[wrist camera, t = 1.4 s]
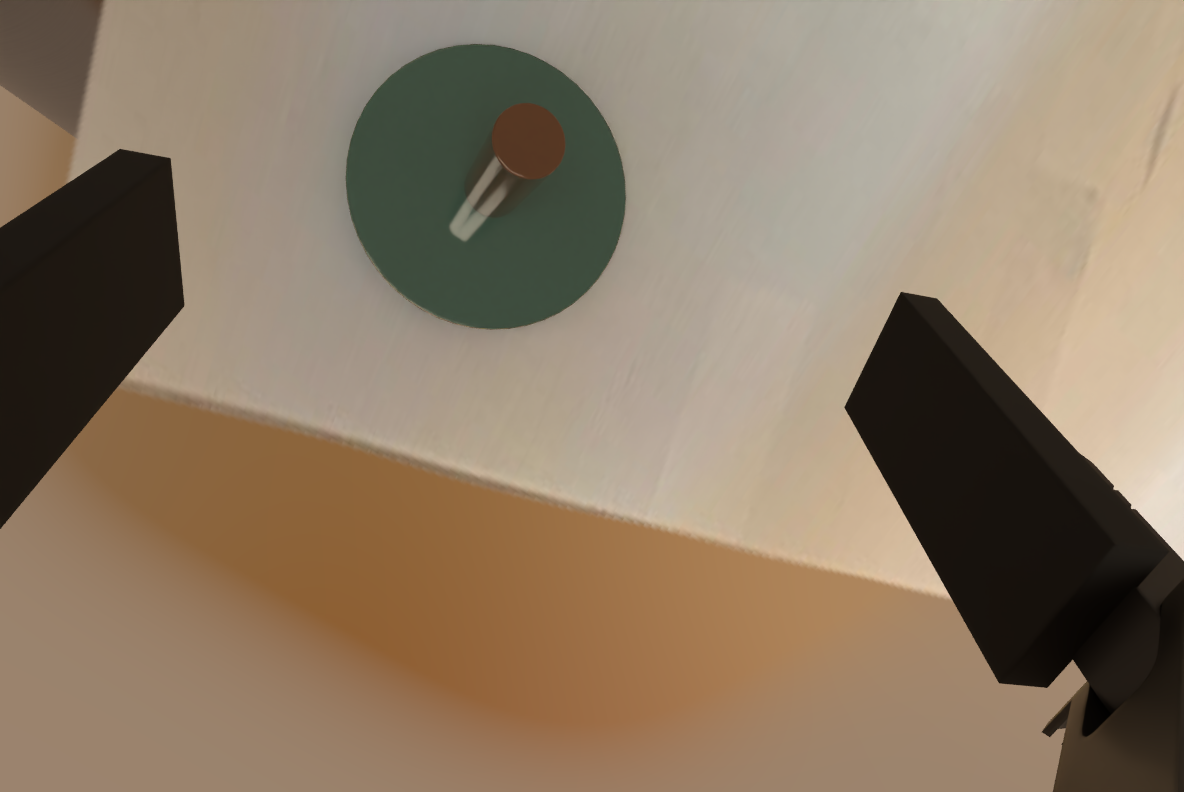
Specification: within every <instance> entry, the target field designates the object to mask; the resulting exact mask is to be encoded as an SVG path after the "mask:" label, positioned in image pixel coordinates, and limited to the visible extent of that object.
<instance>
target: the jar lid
mask: <svg viewBox="0 0 1184 792" xmlns="http://www.w3.org/2000/svg"><path fill="white" fill-rule="evenodd" d="M346 188H347V200H348V204H349V209H350V214H351V219H352V222H353V225H354V227H355V230H356V233H357V236H358V238H359V240H360V242H361V244H362V246H363V248H364V250H365V252H366V254H367V256H368V257H369V259H370V260H371V262H372V263H373V265H374V266H375V268H376V269H377V271H378V272H379V273H380V274H381V275H382V277H383V278H384V279H385V280H386V281H387V282H388V283H389V285H390V286H391V287H393V288H394V289H395V290H396V291H397V292H398V293H399V294H400V295H402V296H403V297H404V298H405V299H406V300H408V301H409V302H411V303H412V304H414V305H415V306H417V307H418V308H420V309H421V310H423V311H425V312H427V313H429V314H431V315H433V316H435V317H437V318H439V319H442V320H445V321H448V322H451V323H453V324H457V325H461V326H466V327H471V328H479V329H490V330H492V329H510V328H516V327H521V326H527V325H530V324H533V323H536V322H539V321H542V320H545V319H547V318H549V317H551V316H553V315H555V314H558V313H560V312H561V311H563V310H564V309H566V308H567V307H569V306H570V305H572V304H573V303H575V302H576V301H577V300H578V299H579V298H580V297H581V296H583V295H584V294H585V293H586V292H587V291H588V290H589V289H590V288H591V287H592V285H593V284H594V283H595V282H596V281H597V280H598V278H599V277H600V275H601V274H602V272H603V271H604V269H605V268H606V266H607V265H608V263H609V261H610V259H611V257H612V255H613V253H614V251H615V248H616V245H617V243H618V240H619V237H620V234H621V229H622V224H623V220H624V213H625V200H626V195H625V179H624V173H623V167H622V162H621V158H620V155H619V151H618V148H617V145H616V143H615V140H614V138H613V136H612V133H611V131H610V129H609V127H608V125H607V123H606V122H605V120H604V118H603V116H602V115H601V113H600V112H599V110H598V109H597V108H596V106H595V105H594V104H593V102H592V101H591V100H590V98H589V97H588V96H587V95H586V94H585V93H584V92H583V91H582V90H581V89H580V88H579V87H578V85H577V84H575V83H574V82H573V81H572V80H571V79H569V78H568V77H567V76H566V75H564V74H563V73H562V72H560V71H559V70H557V69H556V68H554V67H553V66H551V65H550V64H548V63H546V62H544V61H542V60H540V59H538V58H536V57H534V56H532V55H530V54H527V53H524V52H520V51H517V50H514V49H511V48H506V47H501V46H495V45H482V44H470V45H458V46H453V47H448V48H444V49H439V50H436V51H434V52H431V53H428V54H426V55H423V56H421V57H419V58H417V59H415V60H413V61H412V62H410V63H408V64H406V65H405V66H403V67H402V68H401V69H399V70H398V71H397V72H395V73H394V74H393V75H391V76H390V77H389V78H388V79H387V80H386V81H385V82H384V83H383V84H382V85H381V86H380V87H379V88H378V89H377V91H376V92H375V93H374V95H373V96H372V98H371V99H370V100H369V102H368V103H367V104H366V106H365V108H364V110H363V112H362V114H361V116H360V118H359V119H358V121H357V124H356V127H355V130H354V132H353V135H352V138H351V141H350V146H349V151H348V156H347V167H346Z"/></svg>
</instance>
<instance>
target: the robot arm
mask: <svg viewBox="0 0 1184 792" xmlns="http://www.w3.org/2000/svg"><path fill="white" fill-rule="evenodd" d="M183 307H184V295H183V285H182V274H181V264H180V253H179V242H178V232H177V221H176V211H175V200H174V190H173V179H172V168H171V158H166V157H161V156H155V155H150V154H145V153H139V152H134V151H128V150H123V149H119V150H118V151H116V152H115V153H113V154H112V155H110V156H109V157H107V158H106V159H104V160H103V161H101V162H100V163H98V164H97V165H95V166H94V167H92V168H90V169H89V170H87V171H86V172H84V173H83V174H81V175H80V176H78V177H77V178H75V179H74V180H72V181H71V182H69V183H68V184H66V185H65V186H63V187H62V188H60V189H59V190H57V191H56V192H54V193H52V194H51V195H49V196H48V197H46V198H45V199H43V200H42V201H40V202H39V203H37V204H36V205H34V206H33V207H31V208H30V209H28V210H27V211H25V212H24V213H22V214H20V215H19V216H17V217H16V218H14V219H13V220H11V221H10V222H8V223H7V224H5V225H4V226H2V227H1V228H0V529H1V527H2V526H3V525H4V524H5V523H6V521H7V520H8V519H9V518H10V517H11V515H12V514H13V513H14V512H15V510H16V509H17V508H18V507H19V506H20V504H21V503H22V502H23V501H24V500H25V498H26V497H27V496H28V495H29V494H30V492H31V491H32V490H33V489H34V488H35V486H36V485H37V484H38V483H39V481H40V480H41V479H42V478H43V477H44V475H45V474H46V473H47V472H48V471H49V469H50V468H51V467H52V466H53V464H54V463H55V462H56V461H57V460H58V458H59V457H60V456H61V455H62V453H63V452H64V451H65V450H66V449H67V447H68V446H69V445H70V444H71V443H72V441H73V440H74V439H75V438H76V437H77V435H78V434H79V433H80V432H81V431H82V429H83V428H84V427H85V426H86V425H87V423H88V422H89V421H90V419H91V418H92V417H93V416H94V414H96V412H97V411H98V410H99V409H100V407H101V406H102V405H103V404H104V403H105V401H106V400H107V399H108V398H109V397H110V395H111V394H112V393H113V392H114V391H115V389H116V388H117V387H118V386H119V385H120V383H121V382H122V381H123V380H124V378H125V377H126V376H127V375H128V374H129V372H130V371H131V370H132V369H133V368H134V366H135V365H136V364H137V363H138V362H139V360H140V359H141V358H142V357H143V355H144V354H145V353H146V352H147V351H148V349H149V348H150V347H151V346H152V345H153V343H154V342H155V341H156V340H157V338H158V337H159V336H160V335H161V334H162V332H163V331H164V330H165V329H166V328H167V326H168V325H169V324H170V323H171V322H172V320H173V319H174V318H175V317H176V315H177V314H178V313H179V312H180V311H181V309H182V308H183ZM844 408H845V409H846V411H847V413H848V415H849V416H850V418H851V420H852V422H853V424H854V425H855V427H856V429H857V431H858V432H859V434H860V436H861V438H862V440H863V441H864V443H865V445H866V447H867V449H868V450H869V452H870V454H871V456H872V457H873V459H874V461H875V463H876V465H877V466H878V468H879V470H880V472H881V474H882V475H883V477H884V479H885V481H886V482H887V484H888V486H889V488H890V490H891V491H892V493H893V495H894V497H895V498H896V500H897V502H898V504H899V506H900V507H901V509H902V511H903V513H904V515H905V516H906V518H907V520H908V522H909V523H910V525H911V527H912V529H913V531H914V532H915V534H916V536H917V538H918V539H919V541H920V543H921V545H922V547H923V548H924V550H925V552H926V554H927V556H928V557H929V559H930V561H931V563H932V564H933V566H934V568H935V570H936V572H937V573H938V575H939V577H940V579H941V581H942V582H943V584H944V586H945V588H946V589H947V591H948V593H949V595H950V597H951V598H952V600H953V602H954V604H955V605H956V607H957V609H958V611H959V612H960V614H961V616H962V618H963V620H964V622H965V623H966V625H967V627H968V629H969V630H970V632H971V634H972V636H973V638H974V639H975V641H976V643H977V645H978V646H979V648H980V650H981V652H982V654H983V655H984V657H985V659H986V661H987V663H988V664H989V666H990V668H991V670H992V671H993V673H994V675H995V677H996V679H997V680H998V682H999V683H1002V684H1013V685H1024V686H1035V687H1045V688H1047V687H1048V686H1049V685H1050V684H1051V683H1052V682H1053V681H1054V680H1055V678H1056V677H1057V676H1058V675H1059V674H1060V673H1061V672H1062V671H1063V670H1064V669H1065V667H1066V666H1067V665H1068V664H1069V663H1070V662H1071V661H1072V660H1074V662H1075V663H1076V665H1077V666H1078V668H1079V669H1080V671H1081V672H1082V674H1083V675H1084V677H1085V678H1086V680H1087V682H1086V683H1085V684H1084V685H1083V686H1082V687H1081V688H1080V689H1079V690H1078V691H1077V693H1076V694H1075V695H1074V696H1073V697H1072V698H1071V699H1070V700H1069V701H1068V702H1067V703H1066V704H1065V705H1064V706H1063V707H1062V709H1061V710H1060V711H1059V712H1058V713H1057V714H1056V715H1055V716H1054V717H1053V718H1052V719H1051V720H1050V721H1049V722H1048V724H1047V725H1046V726H1045V728H1044V730H1043V731H1042V732H1043V733H1044V734H1046V735H1047V736H1049V737H1050V736H1051V735H1052V734H1053V733H1054V732H1055V731H1056V730H1057V729H1062V728H1066V731H1065V735H1064V740H1063V743H1062V750H1061V755H1060V760H1059V765H1058V770H1057V775H1056V780H1055V784H1054V790H1053V792H1184V561H1183V560H1182V559H1181V558H1180V557H1179V556H1178V554H1177V553H1176V552H1175V551H1174V550H1173V549H1172V548H1171V547H1170V546H1169V545H1168V544H1167V543H1166V542H1165V540H1164V539H1163V538H1162V537H1161V536H1160V535H1159V534H1158V533H1157V532H1156V531H1155V530H1154V529H1153V528H1152V526H1151V525H1150V524H1149V523H1148V522H1147V521H1146V520H1145V519H1144V518H1143V517H1142V516H1141V515H1140V514H1139V512H1138V511H1137V510H1135V509H1131V504H1130V503H1129V502H1128V501H1127V499H1126V498H1125V497H1124V496H1123V495H1122V494H1121V493H1120V492H1119V491H1118V490H1113V487H1114V485H1113V484H1112V483H1111V482H1110V481H1109V480H1108V479H1107V478H1106V477H1105V476H1104V475H1103V474H1102V473H1101V471H1100V470H1099V469H1098V468H1097V467H1096V466H1095V465H1094V464H1093V463H1092V462H1091V461H1089V460H1088V459H1087V458H1085V457H1084V456H1082V455H1081V454H1080V453H1079V452H1078V451H1077V450H1076V449H1075V448H1074V447H1073V446H1072V445H1071V444H1070V443H1069V442H1068V440H1067V439H1066V438H1065V437H1064V436H1063V435H1062V434H1061V433H1060V432H1059V431H1058V430H1057V429H1056V427H1055V426H1054V425H1053V424H1052V423H1051V422H1050V421H1049V420H1048V419H1047V418H1046V417H1045V415H1044V414H1043V413H1042V412H1041V411H1040V410H1039V409H1038V408H1037V407H1036V406H1035V405H1034V404H1033V402H1032V401H1031V400H1030V399H1029V398H1028V397H1027V396H1026V395H1025V394H1024V393H1023V392H1022V390H1021V389H1020V388H1019V387H1018V386H1017V385H1016V384H1015V383H1014V382H1013V381H1012V380H1011V379H1010V377H1009V376H1008V375H1007V374H1006V373H1005V372H1004V371H1003V370H1002V369H1001V368H1000V367H999V365H998V364H997V363H996V362H995V361H994V360H993V359H992V358H991V357H990V356H989V355H988V353H987V352H986V351H985V350H984V349H983V348H982V347H981V346H980V345H979V344H978V343H977V342H976V340H975V339H974V338H973V337H972V336H971V335H970V334H969V333H968V332H967V331H966V330H965V328H964V327H963V326H962V325H961V324H960V323H959V322H958V321H957V320H956V319H955V318H954V317H953V315H952V314H951V313H950V312H949V311H948V310H947V309H946V308H945V307H944V306H943V305H942V303H941V302H940V301H939V300H938V299H937V298H931V297H926V296H920V295H915V294H909V293H904V292H901V293H900V295H899V297H898V299H897V301H896V303H895V305H894V307H893V309H892V311H891V313H890V315H889V317H888V319H887V321H886V323H885V326H884V328H883V330H882V332H881V334H880V336H879V338H878V340H877V342H876V344H875V346H874V348H873V350H872V352H871V354H870V356H869V358H868V360H867V362H866V364H865V366H864V368H863V370H862V373H861V375H860V377H859V379H858V381H857V383H856V385H855V387H854V389H853V391H852V393H851V395H850V397H849V399H848V401H847V403H846V405H845V407H844Z"/></svg>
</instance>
